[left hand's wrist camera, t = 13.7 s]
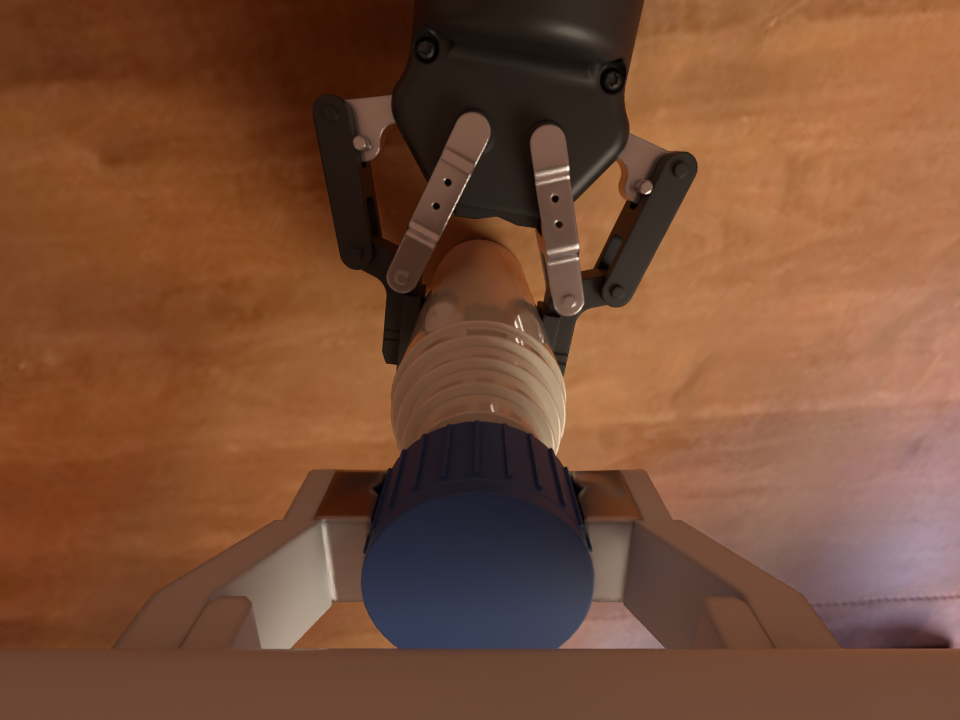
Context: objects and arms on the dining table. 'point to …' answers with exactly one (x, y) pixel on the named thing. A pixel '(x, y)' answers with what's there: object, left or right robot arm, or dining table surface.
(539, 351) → the bottle
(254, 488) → the dining table surface
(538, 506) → the cap
